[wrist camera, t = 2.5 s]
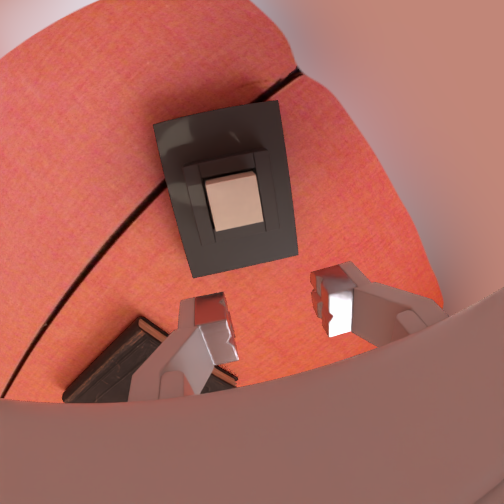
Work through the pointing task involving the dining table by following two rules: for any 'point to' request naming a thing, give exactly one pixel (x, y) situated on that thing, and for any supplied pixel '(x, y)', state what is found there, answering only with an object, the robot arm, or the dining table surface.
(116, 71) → the dining table surface
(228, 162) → the block
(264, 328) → the dining table surface
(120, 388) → the hardcover book
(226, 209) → the key
